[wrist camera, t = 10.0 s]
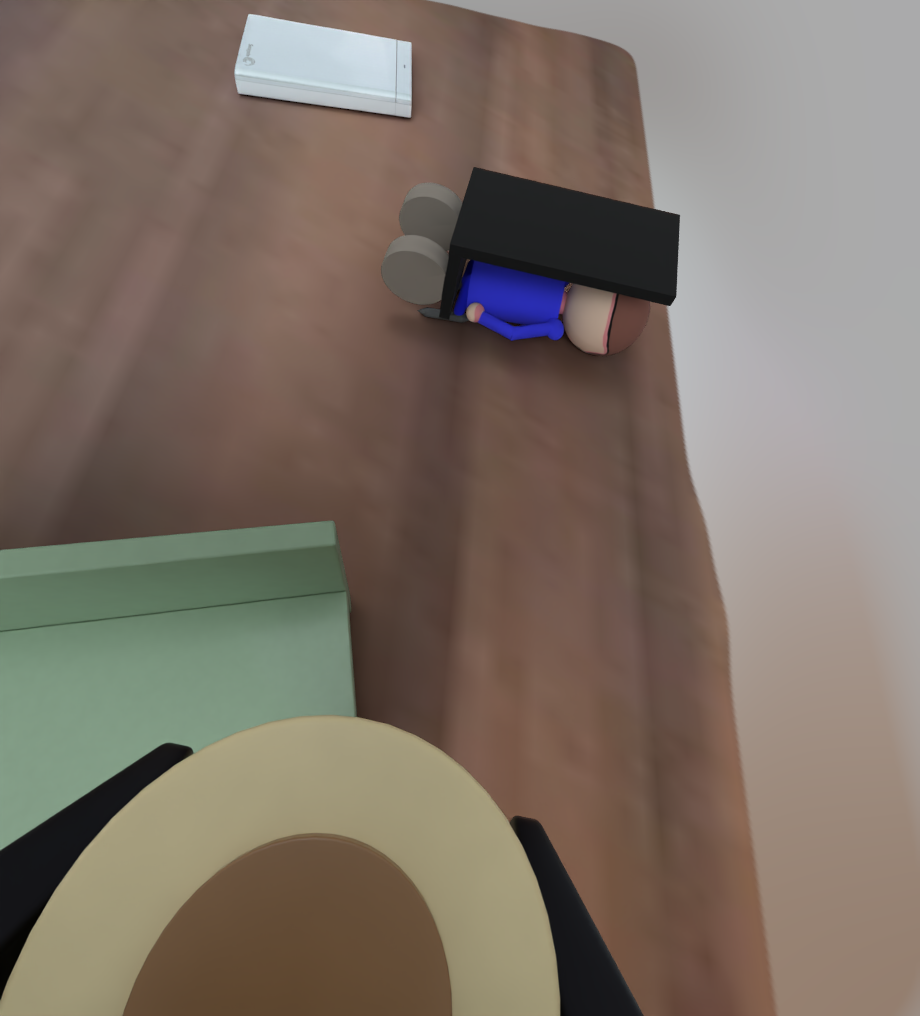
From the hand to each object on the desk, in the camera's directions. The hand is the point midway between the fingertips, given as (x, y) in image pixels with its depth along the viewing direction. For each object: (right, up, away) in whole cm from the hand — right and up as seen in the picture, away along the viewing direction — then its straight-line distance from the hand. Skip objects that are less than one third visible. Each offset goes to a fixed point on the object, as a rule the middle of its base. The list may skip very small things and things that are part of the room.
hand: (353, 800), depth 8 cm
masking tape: (-1, -4, +5) cm, 7 cm away
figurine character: (+5, +16, +23) cm, 29 cm away
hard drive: (-8, +38, +31) cm, 50 cm away
